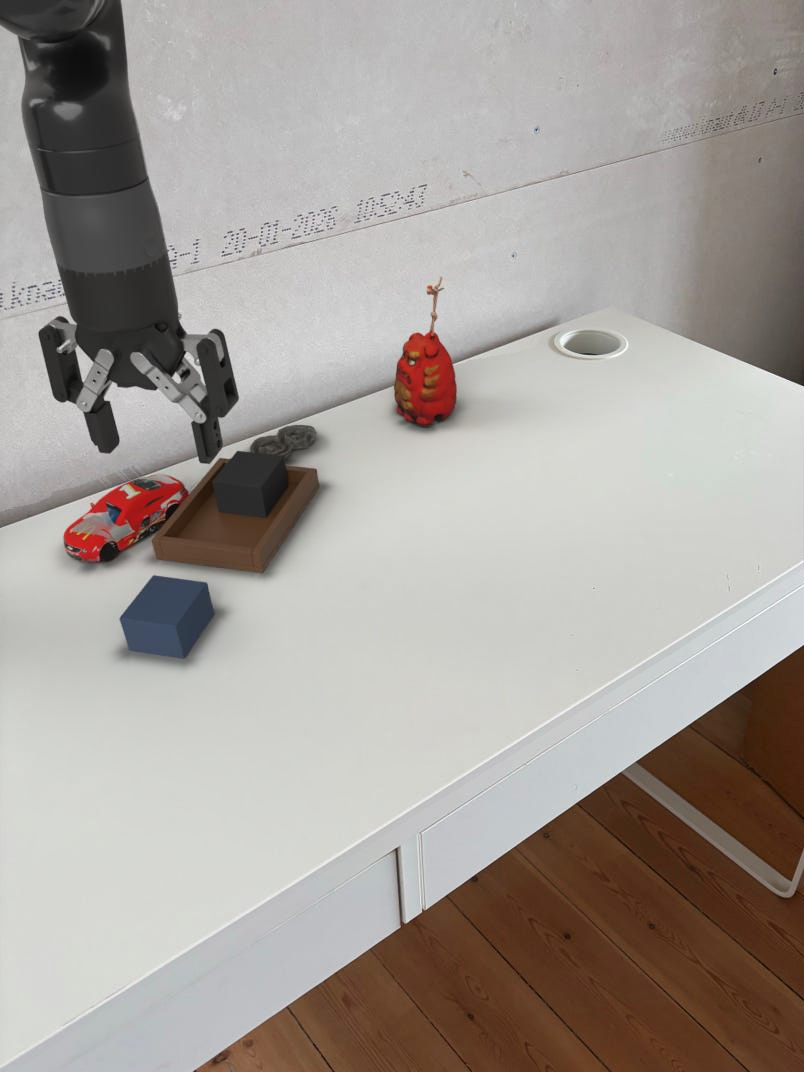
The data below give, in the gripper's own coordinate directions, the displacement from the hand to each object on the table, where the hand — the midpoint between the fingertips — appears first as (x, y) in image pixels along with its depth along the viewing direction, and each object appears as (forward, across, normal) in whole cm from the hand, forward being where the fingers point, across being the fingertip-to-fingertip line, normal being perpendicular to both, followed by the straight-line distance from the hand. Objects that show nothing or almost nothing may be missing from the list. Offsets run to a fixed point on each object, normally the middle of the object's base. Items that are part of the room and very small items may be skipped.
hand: (159, 453), depth 81 cm
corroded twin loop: (+14, +1, -26) cm, 29 cm away
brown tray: (+14, 0, -12) cm, 18 cm away
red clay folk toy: (+14, -13, -36) cm, 41 cm away
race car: (+14, +10, -8) cm, 19 cm away
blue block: (+14, -1, +5) cm, 15 cm away
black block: (+13, 0, -15) cm, 20 cm away
